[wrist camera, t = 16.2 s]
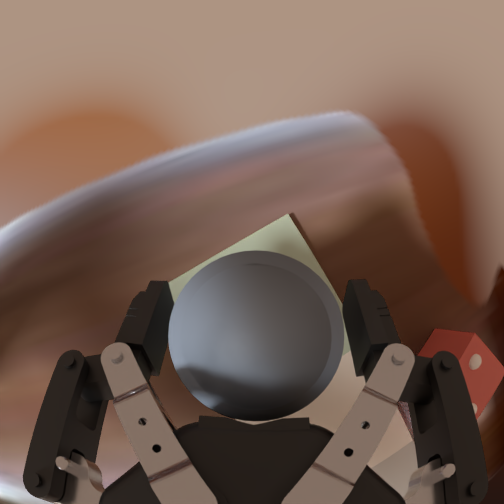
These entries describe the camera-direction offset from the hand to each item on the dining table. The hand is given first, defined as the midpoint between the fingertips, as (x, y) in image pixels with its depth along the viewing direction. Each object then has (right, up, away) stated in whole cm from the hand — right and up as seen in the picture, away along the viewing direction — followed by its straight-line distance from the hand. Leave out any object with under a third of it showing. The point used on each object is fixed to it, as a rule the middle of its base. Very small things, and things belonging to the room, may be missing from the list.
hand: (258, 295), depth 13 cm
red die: (+14, -7, +5) cm, 16 cm away
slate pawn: (0, -2, +6) cm, 6 cm away
